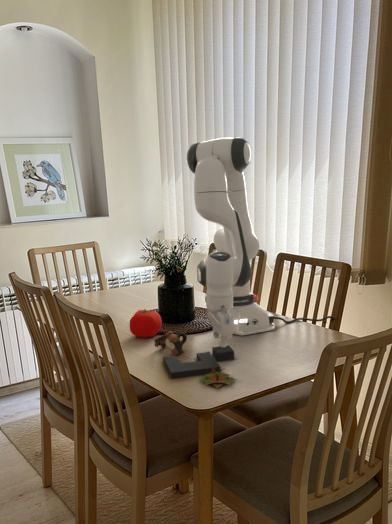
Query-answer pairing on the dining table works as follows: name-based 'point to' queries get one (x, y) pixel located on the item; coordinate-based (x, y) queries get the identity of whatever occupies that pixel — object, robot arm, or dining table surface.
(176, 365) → the notched mat
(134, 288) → the dining table surface
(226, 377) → the lily flower
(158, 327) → the tomato
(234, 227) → the robot arm
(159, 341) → the brown animal figurine
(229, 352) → the pad
